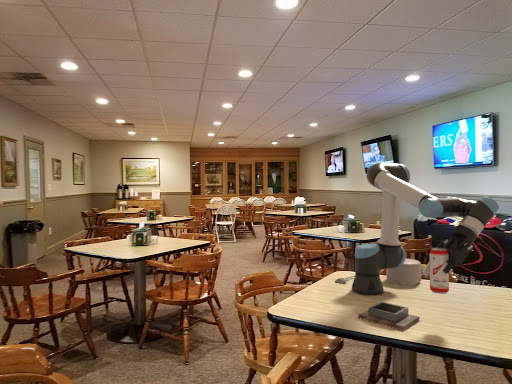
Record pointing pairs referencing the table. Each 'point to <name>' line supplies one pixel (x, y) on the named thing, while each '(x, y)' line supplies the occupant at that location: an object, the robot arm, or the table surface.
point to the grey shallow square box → (396, 316)
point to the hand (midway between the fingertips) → (430, 276)
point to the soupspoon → (342, 280)
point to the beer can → (436, 262)
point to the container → (405, 273)
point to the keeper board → (400, 324)
